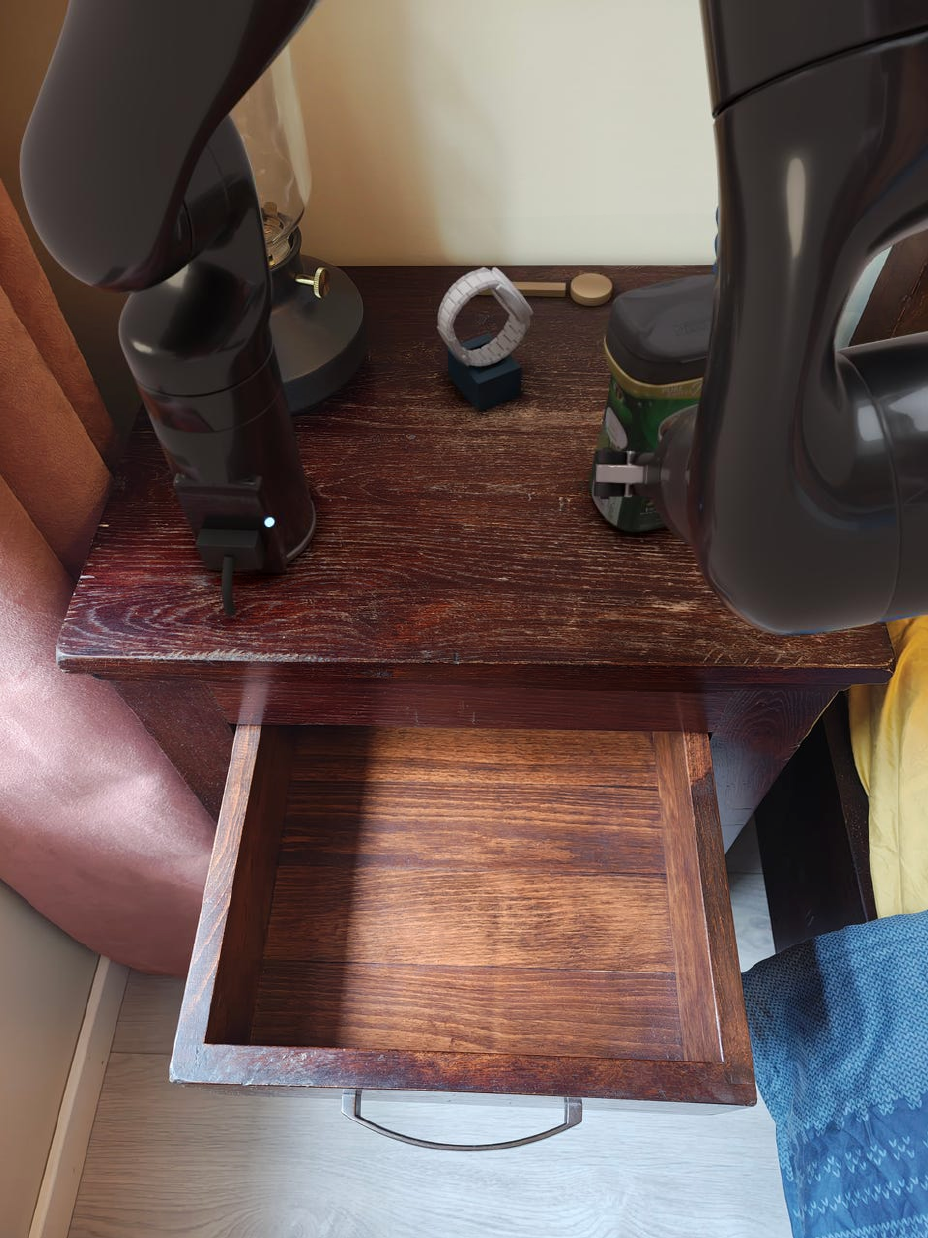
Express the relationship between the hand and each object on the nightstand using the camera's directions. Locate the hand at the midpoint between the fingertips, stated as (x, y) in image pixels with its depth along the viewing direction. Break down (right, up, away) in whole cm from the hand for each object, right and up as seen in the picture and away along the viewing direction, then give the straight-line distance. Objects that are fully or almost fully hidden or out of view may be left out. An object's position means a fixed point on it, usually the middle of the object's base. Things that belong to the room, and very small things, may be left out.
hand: (685, 476), depth 56 cm
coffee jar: (+1, +1, +17) cm, 17 cm away
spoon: (-6, +23, +33) cm, 41 cm away
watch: (-12, +12, +26) cm, 31 cm away
